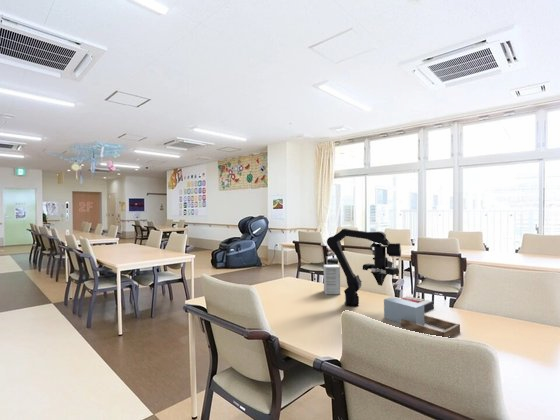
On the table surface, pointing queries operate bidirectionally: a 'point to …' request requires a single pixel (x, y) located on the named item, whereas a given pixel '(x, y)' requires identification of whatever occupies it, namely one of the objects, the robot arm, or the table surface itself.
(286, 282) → the table surface
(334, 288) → the supplement box
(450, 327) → the frame
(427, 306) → the calculator
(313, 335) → the table surface
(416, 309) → the slate box
